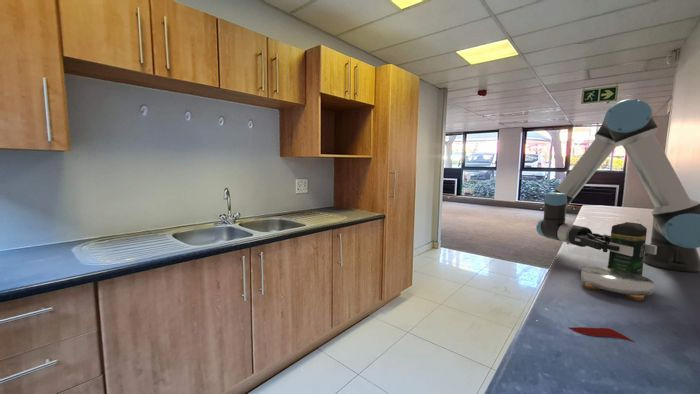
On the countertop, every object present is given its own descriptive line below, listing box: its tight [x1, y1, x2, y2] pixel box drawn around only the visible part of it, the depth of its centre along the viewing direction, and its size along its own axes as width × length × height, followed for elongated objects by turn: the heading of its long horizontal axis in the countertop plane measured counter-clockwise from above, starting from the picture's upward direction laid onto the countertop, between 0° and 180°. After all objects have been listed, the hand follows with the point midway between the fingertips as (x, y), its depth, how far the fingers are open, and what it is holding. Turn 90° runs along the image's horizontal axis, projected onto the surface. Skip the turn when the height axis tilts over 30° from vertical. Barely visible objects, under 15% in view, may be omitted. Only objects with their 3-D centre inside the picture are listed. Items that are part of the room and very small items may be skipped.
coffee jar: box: [607, 221, 648, 276], centre depth 95 cm, size 10×8×19 cm
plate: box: [580, 266, 655, 302], centre depth 88 cm, size 16×16×4 cm
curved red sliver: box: [569, 326, 635, 343], centre depth 64 cm, size 12×5×2 cm, turn 53°
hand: (644, 251), depth 90 cm, fingers closed on coffee jar, 8 cm apart
